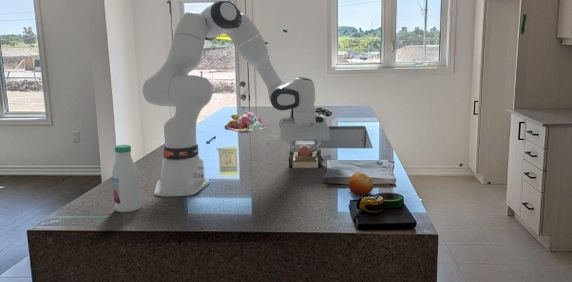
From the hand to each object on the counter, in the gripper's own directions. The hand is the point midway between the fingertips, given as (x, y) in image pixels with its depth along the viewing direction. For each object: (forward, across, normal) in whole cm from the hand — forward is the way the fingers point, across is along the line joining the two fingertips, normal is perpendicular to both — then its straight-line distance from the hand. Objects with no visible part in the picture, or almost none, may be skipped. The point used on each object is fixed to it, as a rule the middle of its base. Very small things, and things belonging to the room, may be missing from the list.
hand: (305, 151), depth 209 cm
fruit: (+6, +18, -42) cm, 46 cm away
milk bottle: (+6, -55, -54) cm, 77 cm away
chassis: (+5, 0, +3) cm, 6 cm away
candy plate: (+6, -34, +89) cm, 96 cm away
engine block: (+3, 0, 0) cm, 3 cm away
